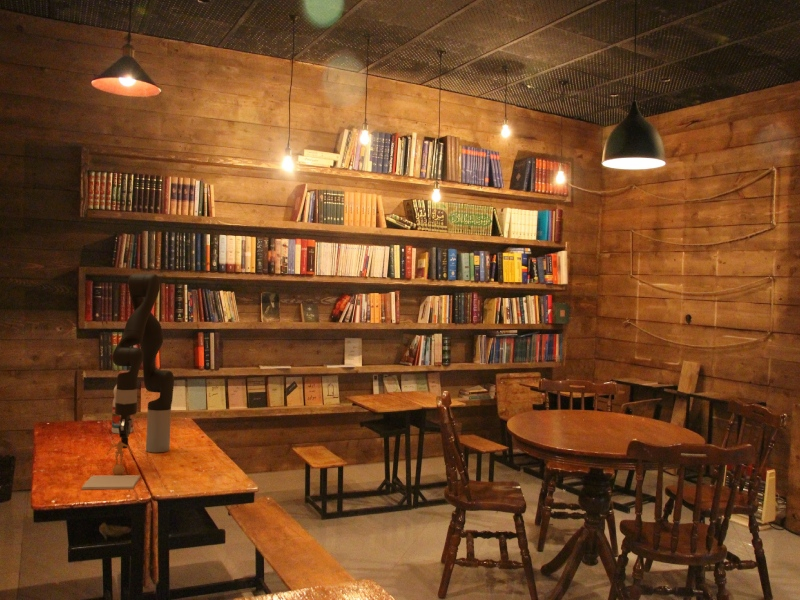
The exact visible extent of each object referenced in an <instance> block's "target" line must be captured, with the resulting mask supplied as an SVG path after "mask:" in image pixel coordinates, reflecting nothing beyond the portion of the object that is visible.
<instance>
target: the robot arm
mask: <svg viewBox="0 0 800 600" xmlns="http://www.w3.org/2000/svg"><path fill="white" fill-rule="evenodd" d="M127 287H128V293H129V296H130V301H131V303H132V308H133V312H132V314H131V315H130V316H129V317H128V319H127V320H126V324H125V326H124V331H123V335H122V337H121V338H120V339H119V342H118V344H117V345H116V346H115V349H114V350H113V352H112V356H111V357H112V358H111V359H112V362H113V364H114V365H115V366H118V367H130V370H128V371H129V372H124V373H120V374H119V373H118V374H117V377H116V384H117V390H116V398H115V414H116V415H121V419H120V420H119V427H118V428H119V434H118V435H119V438H120V441H121V442H122V443H124V444H126V445H128V446H129V438H130V434H131V433H130V430H131V423H132V419H130V415H134V416H135V415H136V414H137V413H138V412H137V410H138V391H137V389H138V378H139V373H140V369H141V366H142V374H143V375H142V376H143V384H144V387H145V389H146V391H147V392H149V393H159V397H158V398H156V399H154V400H151V401H148V403H147V414H146V415H147V416H146V441H145V443H146V444H145V451H146V452H149V453H153V454H154V453H166V452H169V451H170V447H171V446H170V444H171V443H170V442H171V423H172V422H171V419H172V418H171V415H172V413H171V412H172V404H173V396H174V386H175V376H174V374H173V372H172V371H171V370H163V369H157V368H156V357H157V355H158V353H159V352H160V350H161V347H162V345H163V342H164V335H163V329H162V325H161V323H160V321H159V320H158V318H157V317H156V316H155V315H154V314H153V313H152V310H153V309H154V305H155V302H156V301H157V298H158V296H159V293H160V290H161V281H160V277H159V276H158V275H157V274H155V273H132V274H131V275H130V276H129V277H128V282H127ZM138 345H139V347H140V348H139V347H133V346H138ZM122 449H128V447H126V446H123V448H122Z"/></svg>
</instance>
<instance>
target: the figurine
mask: <svg viewBox="0 0 800 600" xmlns="http://www.w3.org/2000/svg"><path fill="white" fill-rule="evenodd" d="M123 446H126V447H127V449H128V451H129V452H130V455H132V454H133V453H132V449H131V448H130V446H129V444H128V445H126V444H124V443H122V442H121V440H119V441H118V442H117V443H115V444H113V445H111V446H110V447H109V449H108V451H107V452H106V455H109V453H110V452H111V450H112V448H114V447H116V449H117V450H115V465H114V466H113V467H112V474H113V475H124V472H125V467H124V465H123V462H122V461H123V458H124V453H125V452H124V450H123V449H124V448H123ZM119 456H120V461H119V463H118V460H119V458H118V457H119Z"/></svg>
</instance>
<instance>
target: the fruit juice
mask: <svg viewBox="0 0 800 600" xmlns="http://www.w3.org/2000/svg"><path fill="white" fill-rule="evenodd" d="M129 371H130V370H128V371H127V370H125V371H124V370H121V371H119V372H118V374H120V373H124V372H129ZM116 390H117V383H116V384H115V386H114V388H113V396H114V397H113V400H112V405H111V406H112V410H111V411H112V412H111V415H112V416H111V432H112V433H113V434H118V435H120V434H119V428H118V427H119V420H120V419H121V415H116V414H115V398H116ZM130 419H132V423H131V430H130V434H131V433H133V432H134V425H135V424H134V423H135V421H134V420H135V414H134V415H130Z"/></svg>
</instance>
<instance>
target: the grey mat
mask: <svg viewBox="0 0 800 600" xmlns="http://www.w3.org/2000/svg"><path fill="white" fill-rule="evenodd" d="M140 478H141V475H140V474H138V475H137V474H135V475H133V474H132V475H131V474H129V475H125V474H122V475H114V474H113V475H111V474H110V475H91V476H90V477H89V478H88V479H87V481H86V482H84V483H83V485H82V486H81V489H80V490H83V491H84V490H133V489H134V488H135V486H136V485H137V483H139V480H140Z"/></svg>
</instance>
